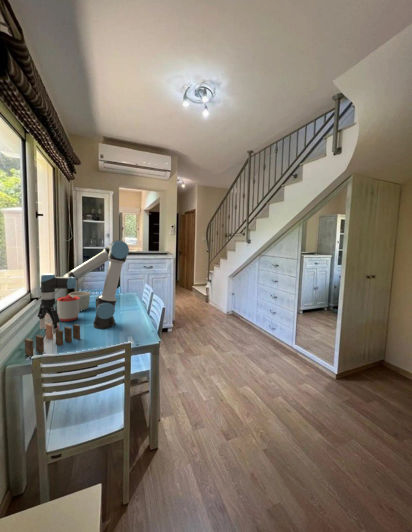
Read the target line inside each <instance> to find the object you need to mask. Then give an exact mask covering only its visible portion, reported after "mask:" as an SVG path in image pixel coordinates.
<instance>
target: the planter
mask: <svg viewBox="0 0 412 532" xmlns="http://www.w3.org/2000/svg"><path fill="white" fill-rule="evenodd" d="M67 295H70V296H71V297H72V298H73V297H74V296H77V297H79V312H82V311H81V310H84V311H86V310H87V309H88V308H90V307H89V306H90V300H91V299H90V298H91V297H90V295H91V292H89V291H83V290H82V291H81V290H80V291H72V292H70V293H68V294H67ZM85 309H86V310H85Z"/></svg>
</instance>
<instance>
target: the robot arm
mask: <svg viewBox="0 0 412 532" xmlns="http://www.w3.org/2000/svg"><path fill="white" fill-rule="evenodd" d="M129 252H130V248H129V246H128V244H127V243H126V242H125V241H122V240H114V241H112V242H111V243H110V244H109V245H107V246H106V247H104V248H103V250H102V251H101V252H99V253H97V254H96V255H95V256H92V258H90V259H88V260H87V261H84V262H83V263H82V264H80V265H78V266H77V267H75V268H74V269H72V270H70V271H68V272H67V273H65V274H64V275H62V276H56V274H55V273H43V274H42V275H40V292H41V293H40V298H41V299H40V304H39V310H38V313H37V318H38V319H39V330H42V329H45V315H46V313H48V314H49V315H50V317H51V320H52V322H53V323H52V334H53V335H55V330H57V323H59V324H60V321H61V320H60V319H59V317H58V311H57V306H54V305H56V290H61V289H63V290H65V289H67V290H69V289H70V290H71V289H77V281H78V280H80V279H81V278H83V277H85V276H86V275H87V274H89V273H91V272H93V271H94V270H96V269H97V268H99V267H100V266H101V265H102V266H103V264H105V263H106V262H108V261H109V262H108V266H107V272H106V275H105V280H104V284H103V287H102V288H103V289H102V292H101V294H99V295H96V297H95V299H94V300H95V318H94V320H93V328H95V329H98V330H99V329H102V330H104V329H109V327H110V328H112V326H113V325H114V326H115V325H116V320H115V317H114V314H115V312H116V308H115V307H116V303H117V298H116V292H117V289H118V286H119V285H118V284H119V281H120V276H121V272H122V267H123V264H124V263H126V260H127V258H128V255H129ZM114 326H113V327H114Z"/></svg>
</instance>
